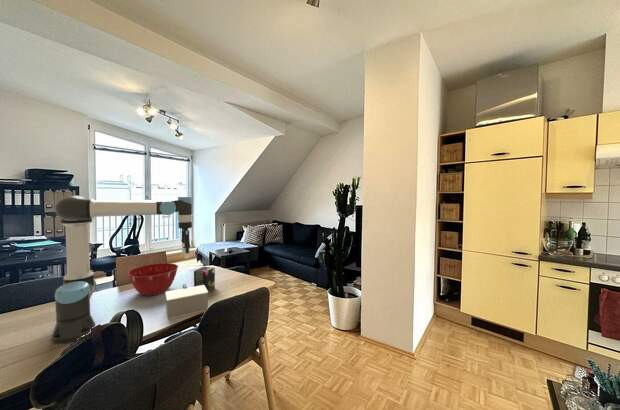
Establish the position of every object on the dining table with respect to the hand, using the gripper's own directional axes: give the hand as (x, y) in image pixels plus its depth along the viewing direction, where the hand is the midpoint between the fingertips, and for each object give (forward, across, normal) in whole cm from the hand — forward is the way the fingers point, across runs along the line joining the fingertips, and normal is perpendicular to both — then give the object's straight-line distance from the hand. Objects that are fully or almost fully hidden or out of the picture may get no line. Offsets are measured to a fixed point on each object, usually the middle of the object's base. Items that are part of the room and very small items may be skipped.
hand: (185, 255), depth 155 cm
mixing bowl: (+28, +25, +16) cm, 41 cm away
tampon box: (+28, +11, -13) cm, 33 cm away
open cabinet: (+28, -14, +1) cm, 31 cm away
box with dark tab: (+23, -11, +1) cm, 25 cm away
